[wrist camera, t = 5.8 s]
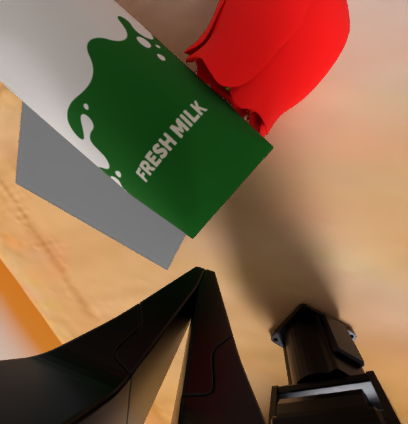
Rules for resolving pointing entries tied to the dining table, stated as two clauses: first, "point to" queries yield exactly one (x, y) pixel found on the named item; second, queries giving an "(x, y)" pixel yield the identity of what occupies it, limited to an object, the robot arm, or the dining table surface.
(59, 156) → the mat
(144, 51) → the soya milk
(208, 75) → the flower
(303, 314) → the robot arm
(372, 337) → the dining table surface
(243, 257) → the dining table surface
